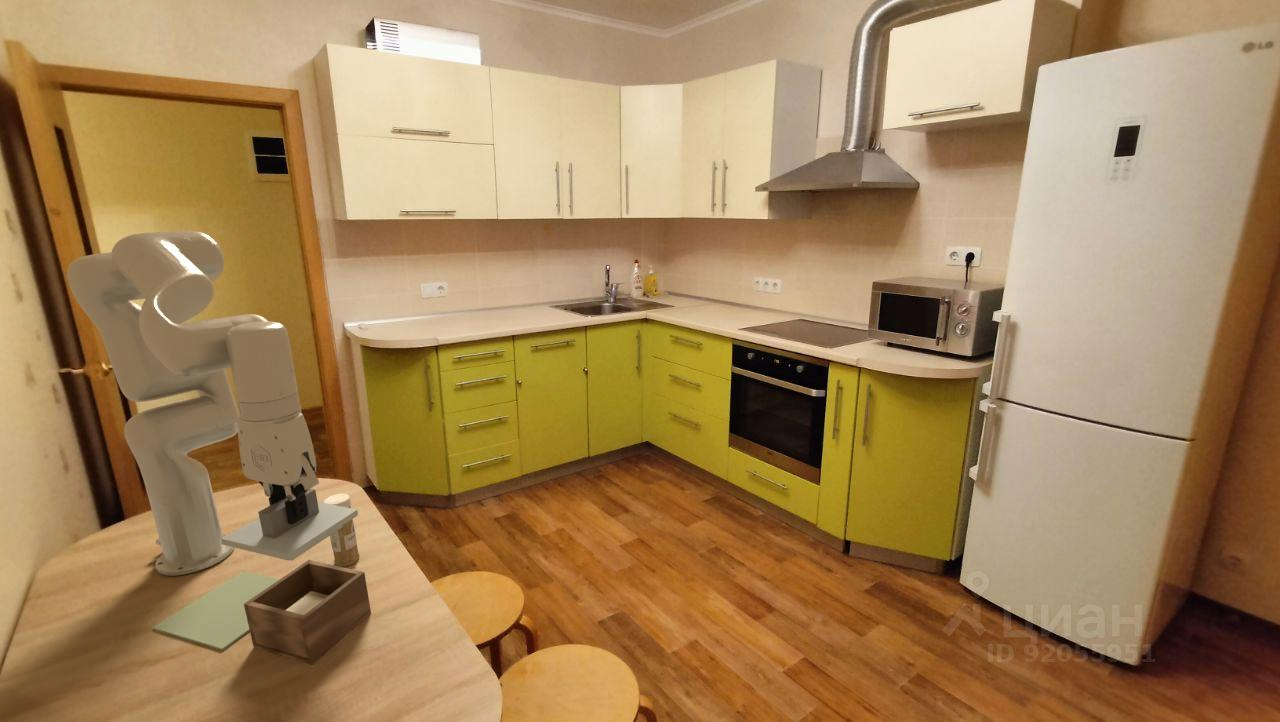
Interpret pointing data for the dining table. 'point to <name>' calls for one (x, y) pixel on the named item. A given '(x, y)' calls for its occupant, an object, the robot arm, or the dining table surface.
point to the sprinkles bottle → (343, 535)
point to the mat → (217, 613)
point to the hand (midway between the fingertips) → (291, 517)
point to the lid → (290, 529)
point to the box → (308, 611)
